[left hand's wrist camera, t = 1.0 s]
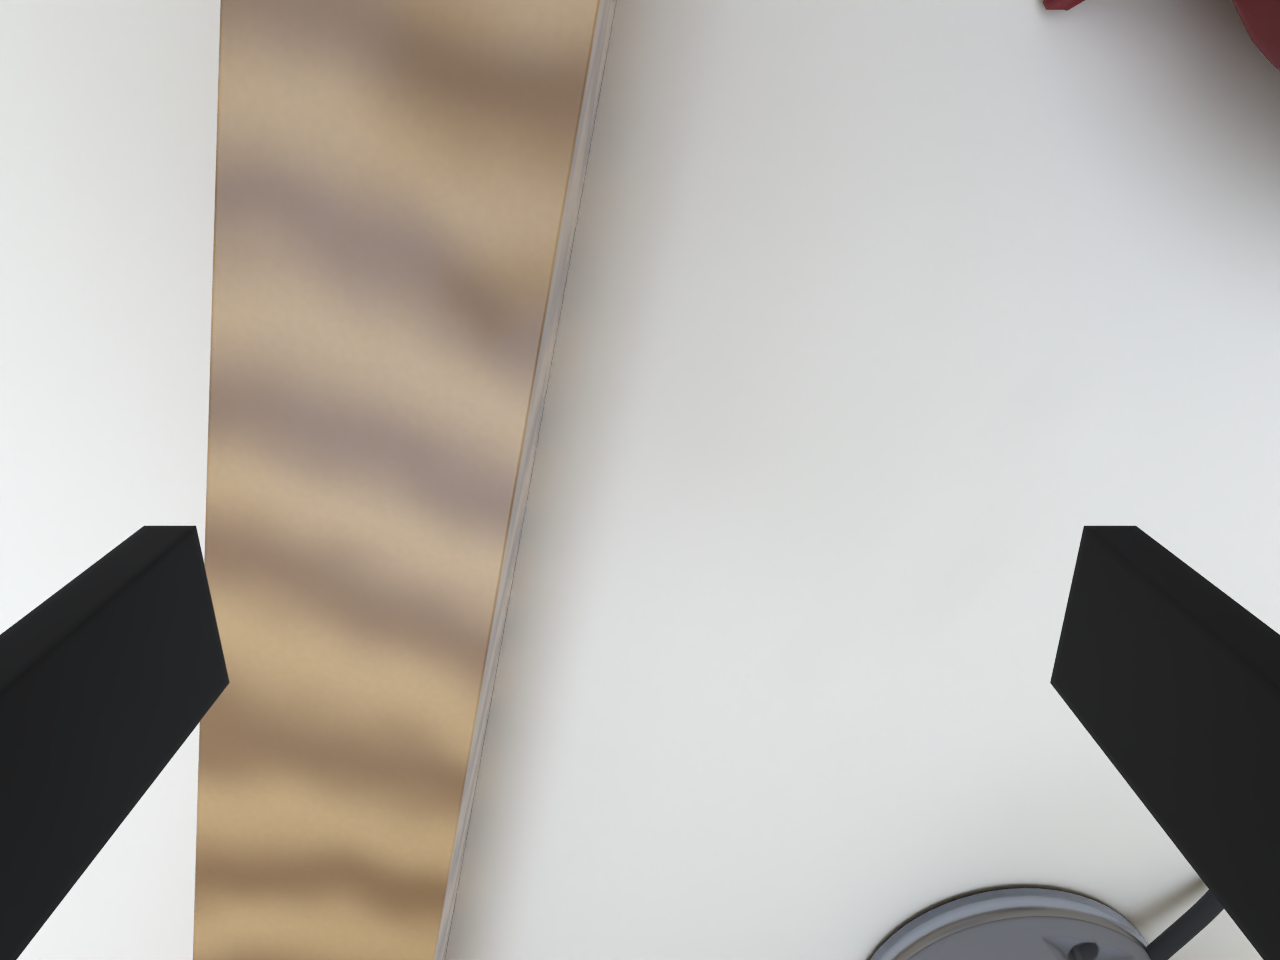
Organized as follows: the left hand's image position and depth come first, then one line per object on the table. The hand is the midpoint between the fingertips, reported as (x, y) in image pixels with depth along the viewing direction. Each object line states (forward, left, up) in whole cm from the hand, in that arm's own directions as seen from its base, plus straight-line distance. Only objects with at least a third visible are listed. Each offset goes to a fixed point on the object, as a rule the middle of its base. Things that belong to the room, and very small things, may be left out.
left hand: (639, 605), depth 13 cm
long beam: (+21, -18, -19) cm, 33 cm away
